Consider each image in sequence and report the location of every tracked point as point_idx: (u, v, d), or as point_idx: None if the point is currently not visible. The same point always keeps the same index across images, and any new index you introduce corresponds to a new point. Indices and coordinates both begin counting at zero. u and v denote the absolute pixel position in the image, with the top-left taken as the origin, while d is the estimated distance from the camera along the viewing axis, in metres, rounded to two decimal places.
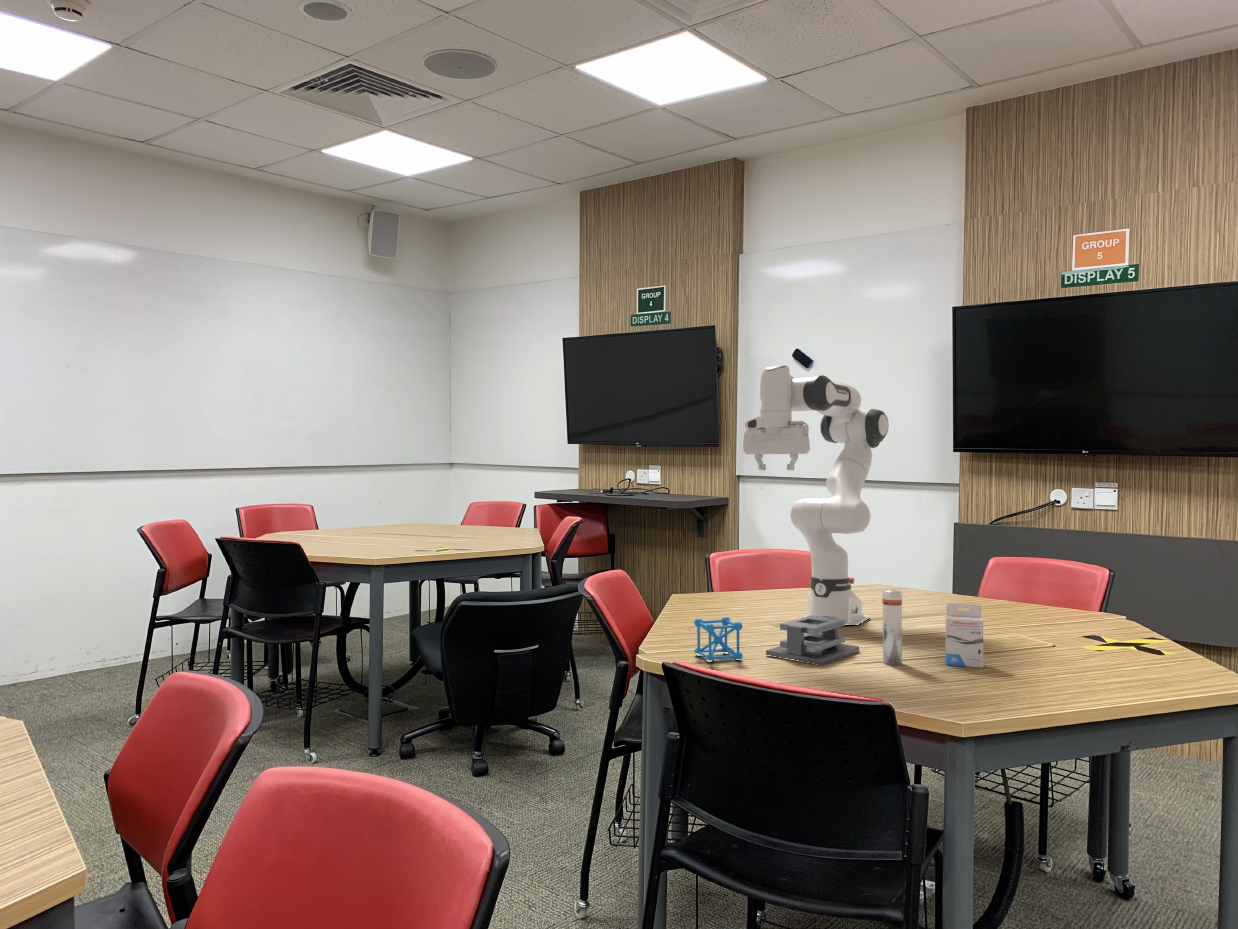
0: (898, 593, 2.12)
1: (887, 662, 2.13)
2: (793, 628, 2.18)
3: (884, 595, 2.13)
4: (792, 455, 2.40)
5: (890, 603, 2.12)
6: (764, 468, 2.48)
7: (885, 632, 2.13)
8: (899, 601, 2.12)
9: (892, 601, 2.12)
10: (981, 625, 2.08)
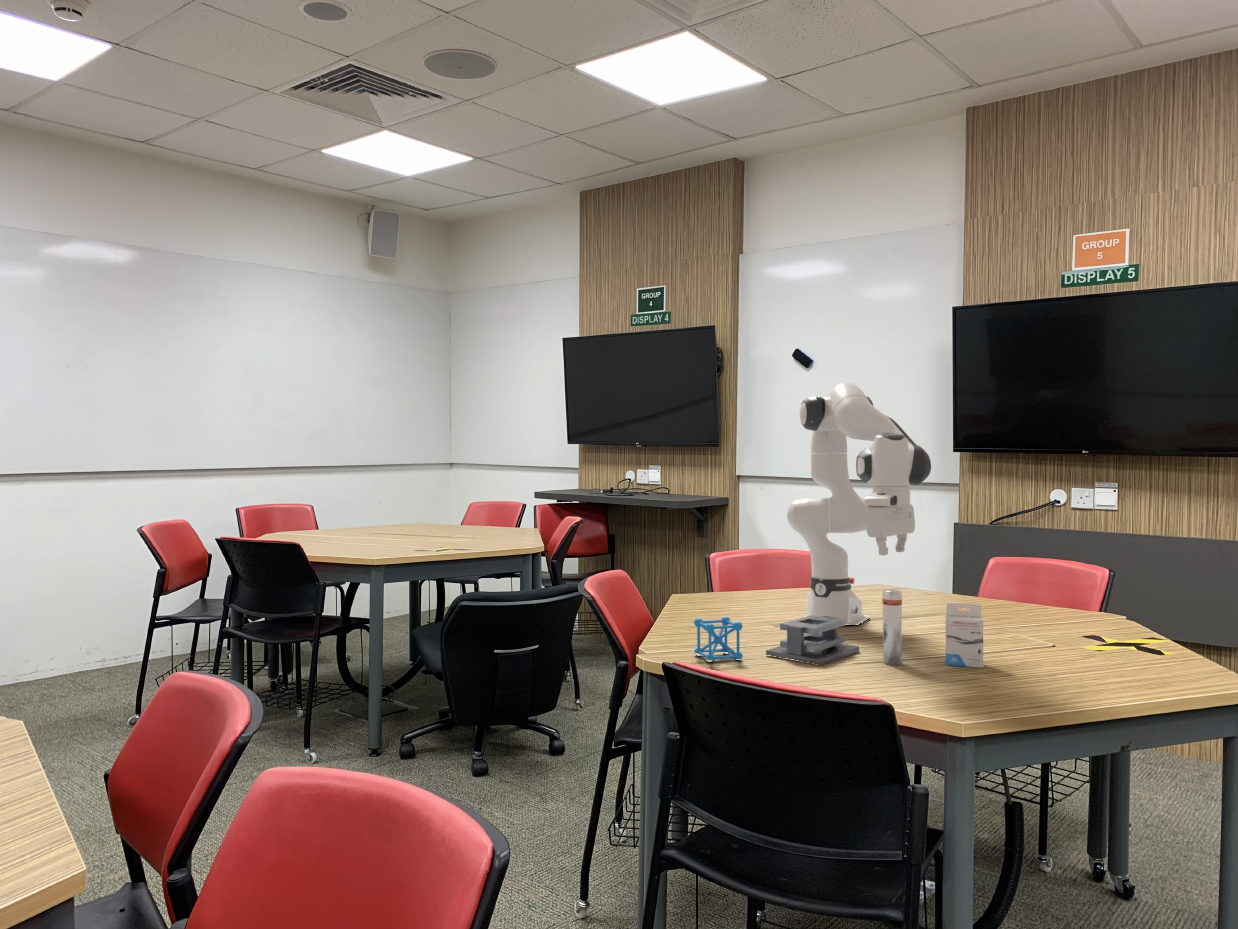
0: (898, 593, 2.12)
1: (887, 662, 2.13)
2: (793, 628, 2.18)
3: (884, 595, 2.13)
4: (906, 535, 2.18)
5: (890, 603, 2.12)
6: None
7: (885, 632, 2.13)
8: (899, 601, 2.12)
9: (892, 601, 2.12)
10: (981, 625, 2.08)
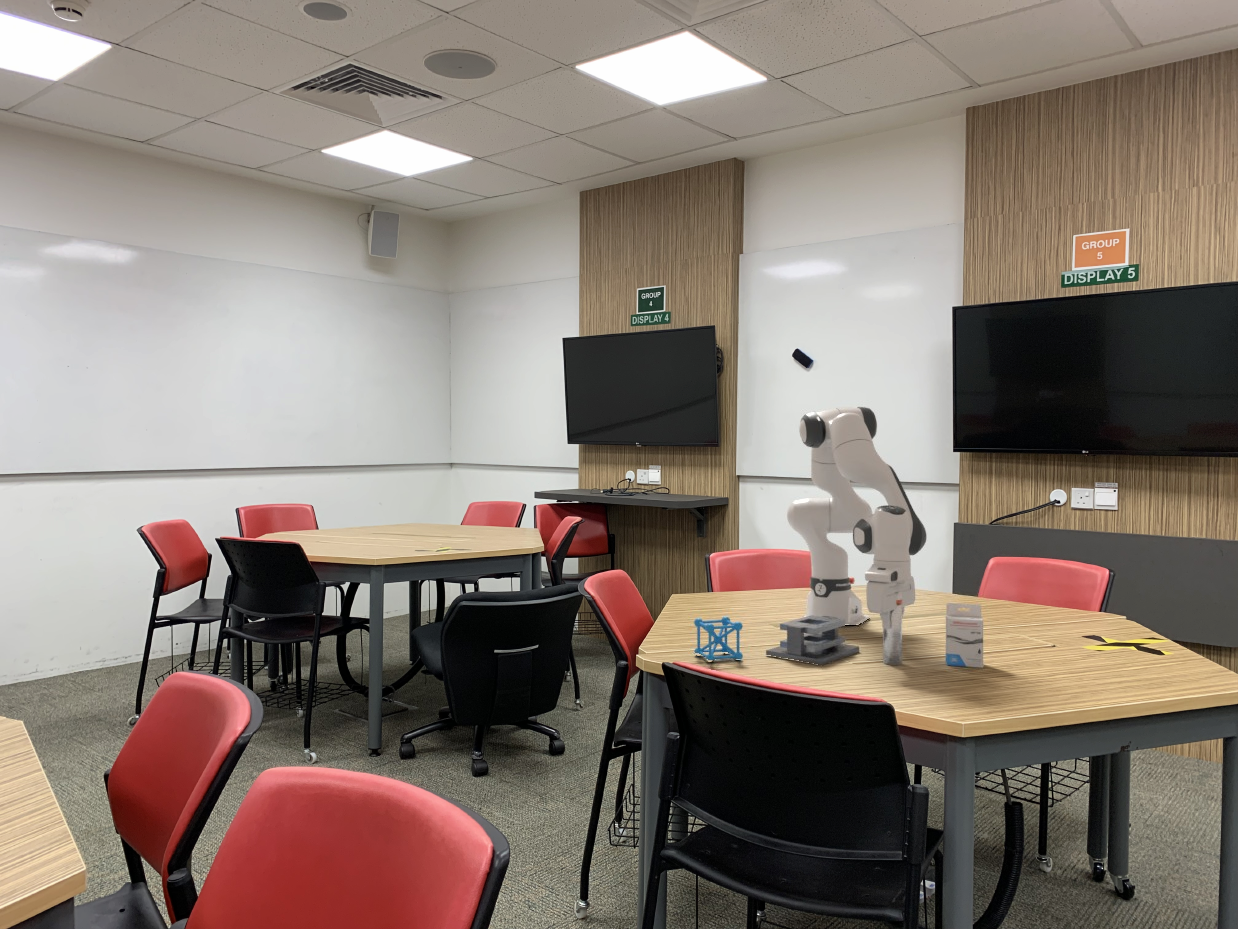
0: (898, 593, 2.12)
1: (887, 662, 2.13)
2: (793, 628, 2.18)
3: None
4: (903, 608, 2.16)
5: None
6: None
7: (885, 632, 2.13)
8: (899, 600, 2.12)
9: None
10: (981, 625, 2.08)
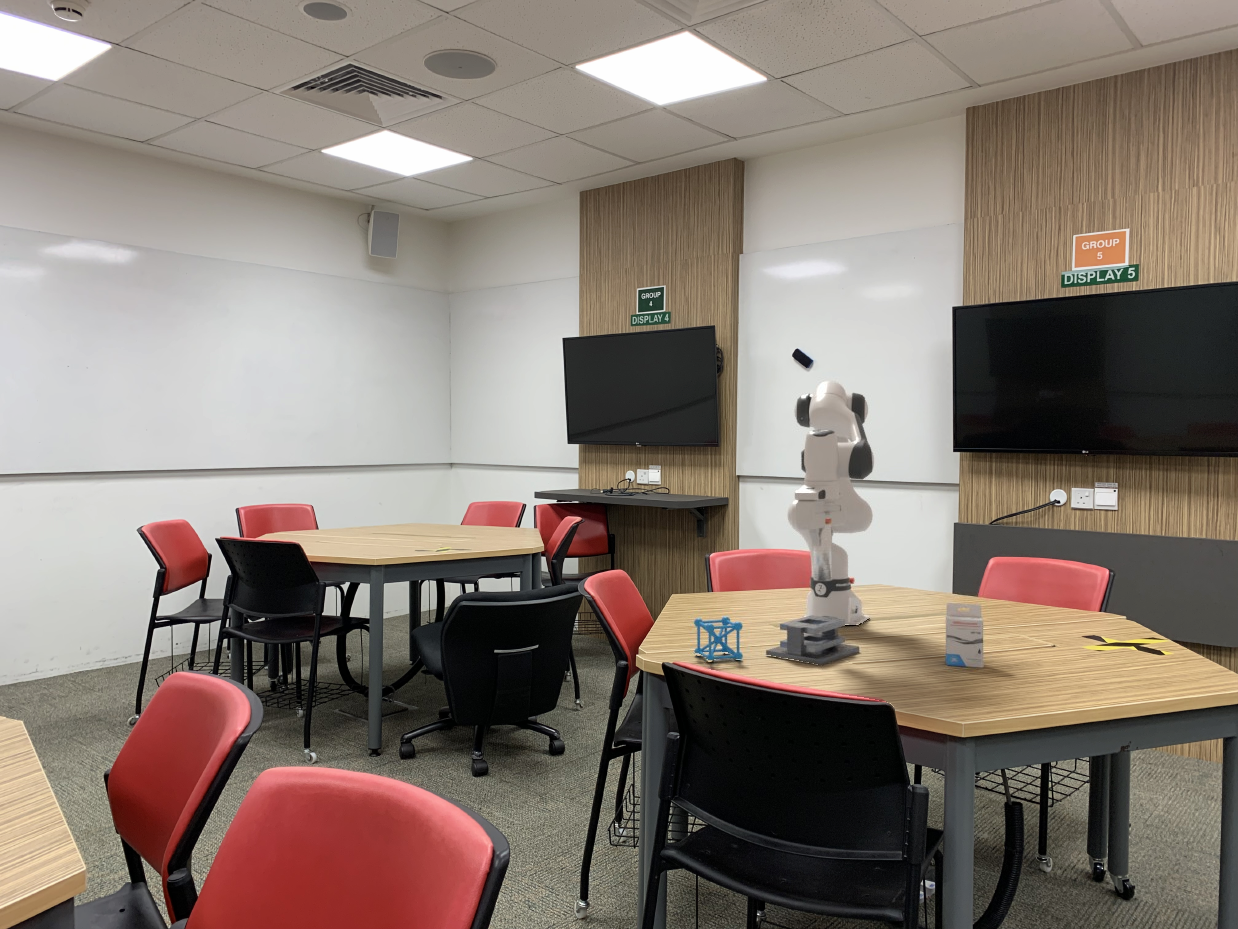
0: (827, 512, 2.21)
1: (817, 578, 2.22)
2: (793, 628, 2.18)
3: None
4: (833, 527, 2.26)
5: None
6: None
7: (815, 550, 2.22)
8: (828, 519, 2.21)
9: None
10: (981, 625, 2.08)
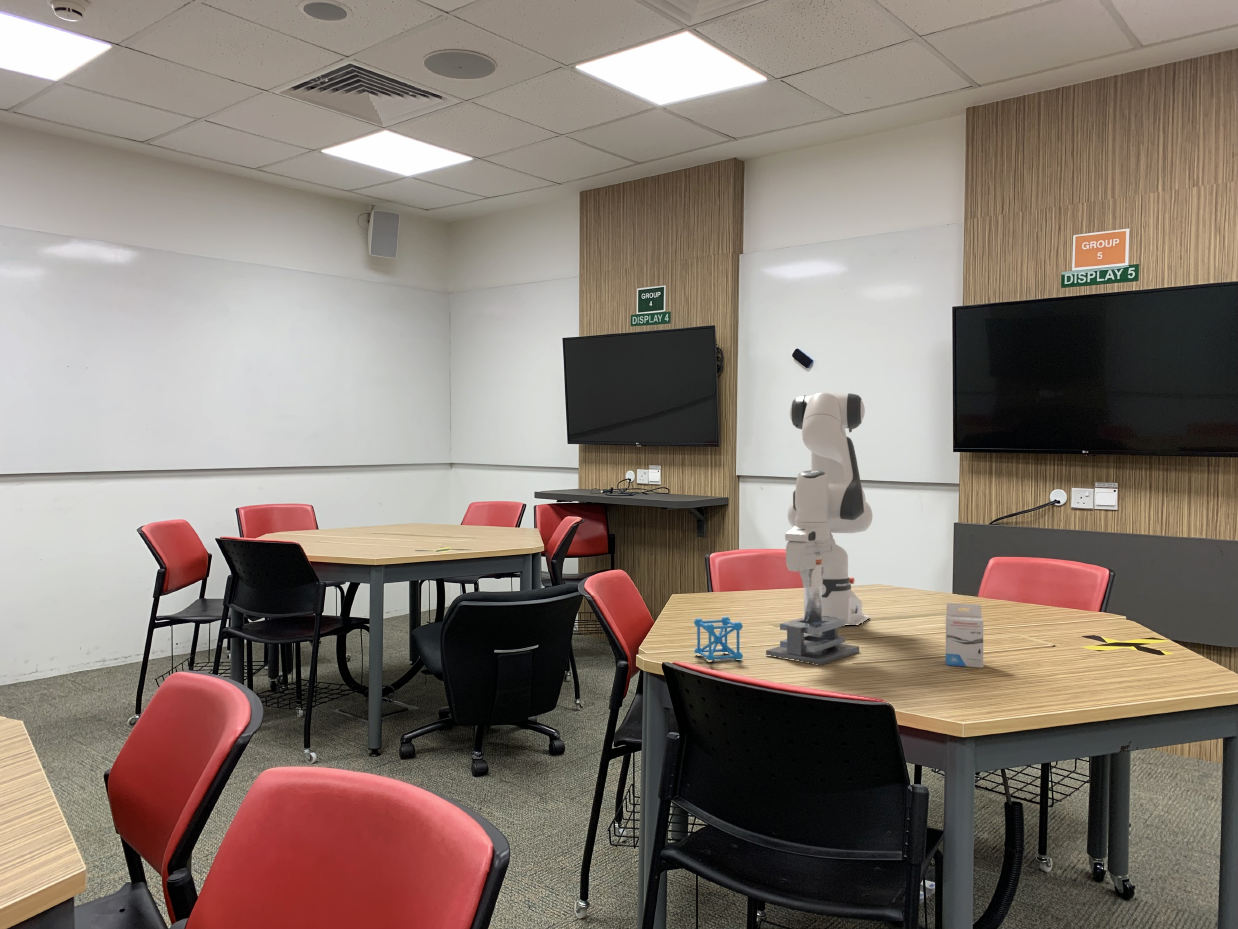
0: (817, 553, 2.22)
1: (807, 619, 2.23)
2: (793, 628, 2.18)
3: None
4: (824, 568, 2.27)
5: None
6: None
7: (805, 590, 2.23)
8: (818, 560, 2.22)
9: None
10: (981, 625, 2.08)
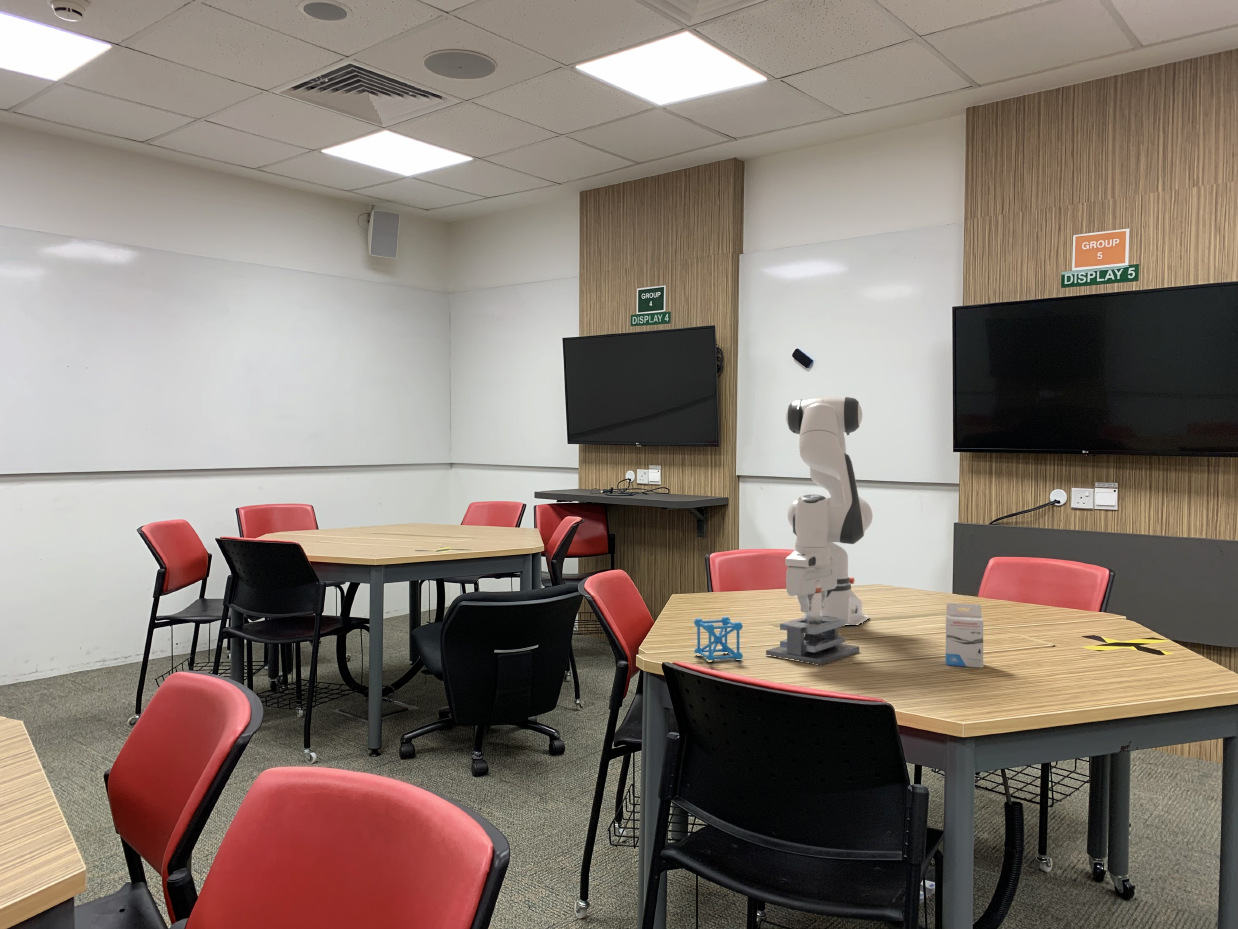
0: (817, 581, 2.22)
1: None
2: (793, 628, 2.18)
3: None
4: (826, 591, 2.28)
5: None
6: None
7: (805, 619, 2.24)
8: (818, 589, 2.22)
9: None
10: (981, 625, 2.08)
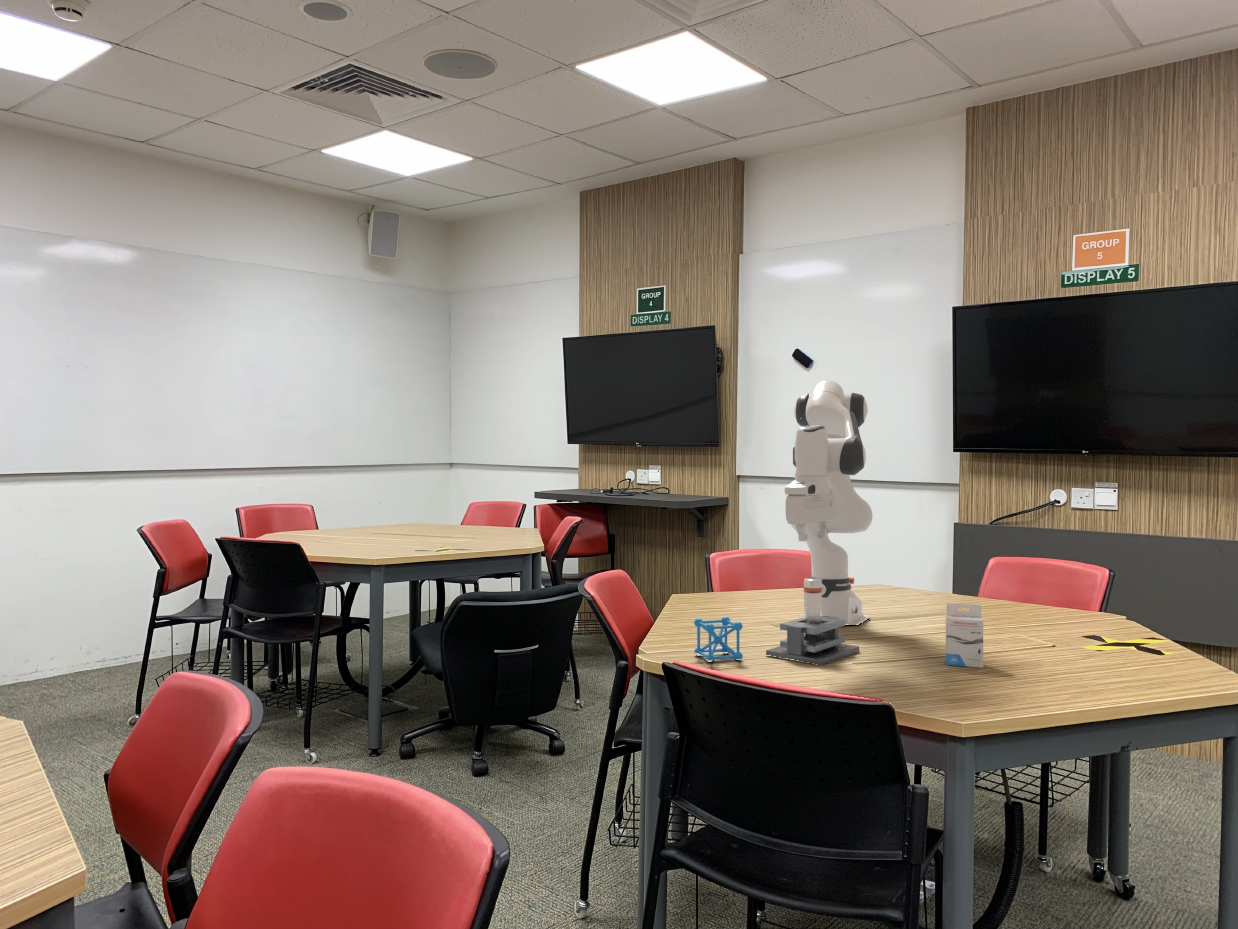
0: (818, 581, 2.22)
1: None
2: (793, 628, 2.18)
3: (805, 583, 2.24)
4: (827, 522, 2.28)
5: (810, 591, 2.23)
6: None
7: (806, 619, 2.24)
8: (819, 588, 2.23)
9: (812, 589, 2.22)
10: (981, 625, 2.08)
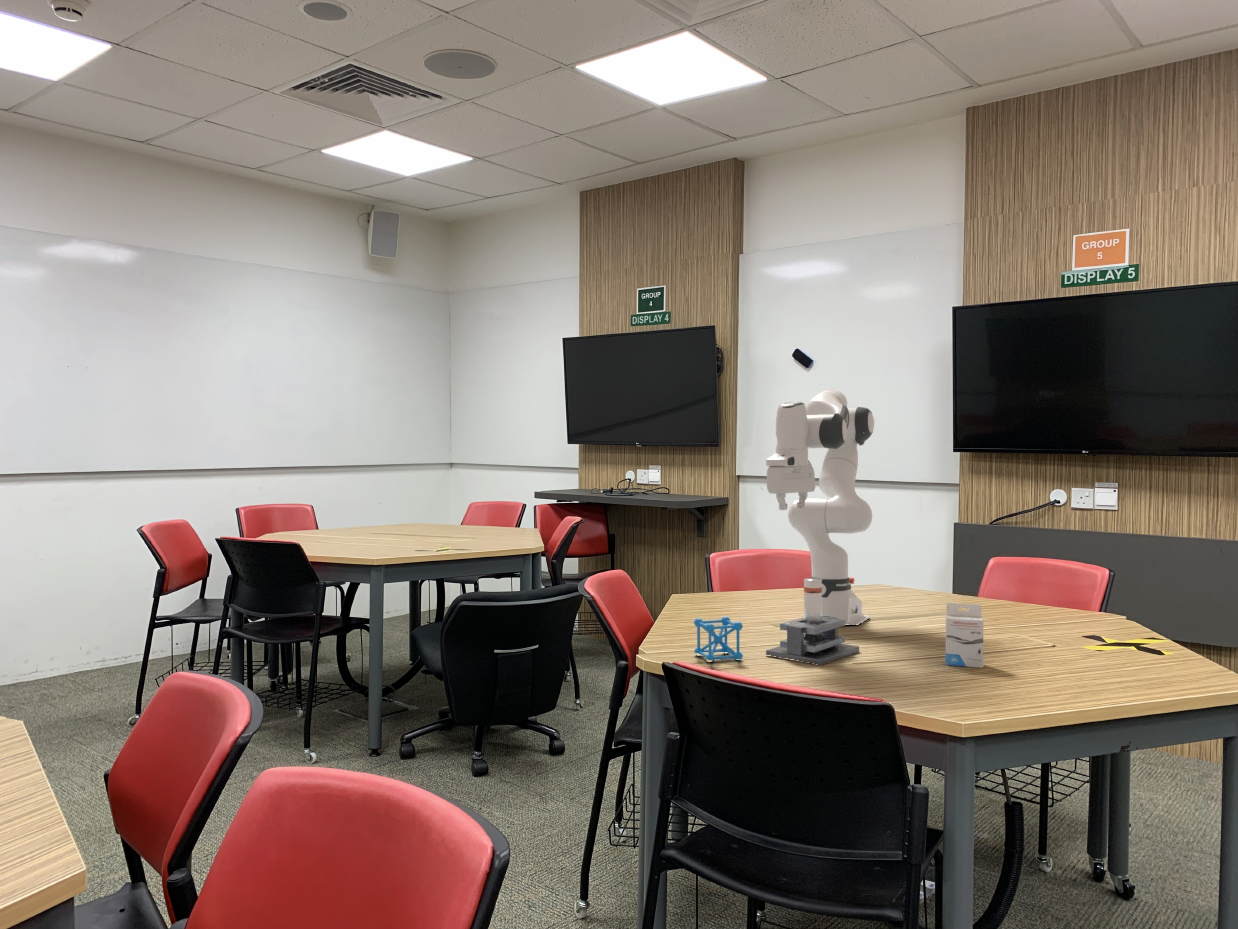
0: (818, 581, 2.22)
1: None
2: (793, 628, 2.18)
3: (805, 583, 2.24)
4: (806, 493, 2.44)
5: (810, 591, 2.23)
6: None
7: (806, 619, 2.24)
8: (819, 588, 2.23)
9: (812, 589, 2.22)
10: (981, 625, 2.08)
